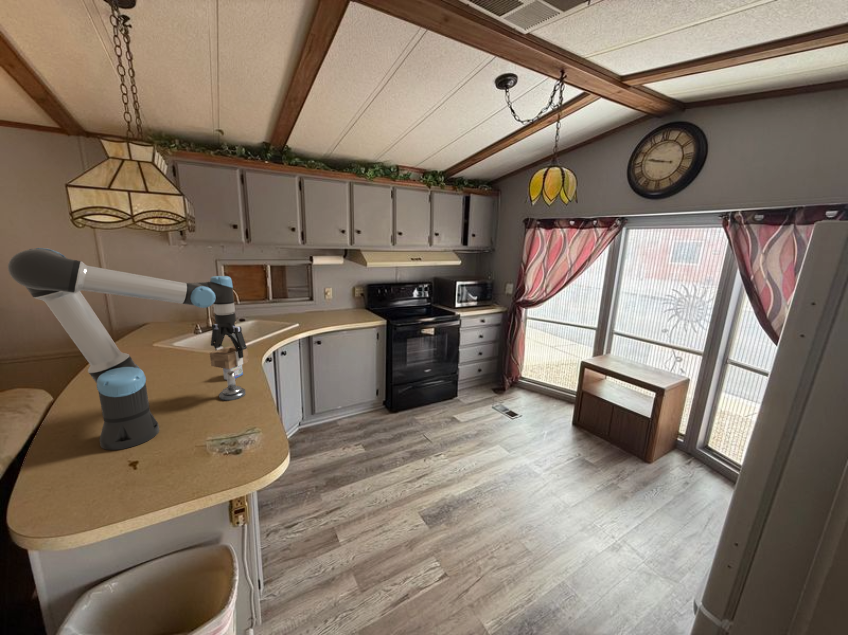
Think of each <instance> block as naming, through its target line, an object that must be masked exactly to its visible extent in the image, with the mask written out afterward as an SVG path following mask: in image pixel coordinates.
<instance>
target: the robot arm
mask: <svg viewBox="0 0 848 635" xmlns="http://www.w3.org/2000/svg"><path fill="white" fill-rule="evenodd" d="M7 270H8V273H9V275H10V277H11V278H12V279H13V280H14V281H15V282H16V283H17V284H19V285H21V286H23V287H25V288H26V290H27V291H28V292H29V293H30V295H31V296H32V298H33V299H35V300H40V301H43V302H44V303H45V304H46V306H47V307H48V308H49V310H50V311H51V312H52V314H53V315H54V317H55V318H56V319H57V321H58V322H59V323H60V325H61V326H62V328H63V329H64V331H65V332H66V334H68V336H69V337H70V339H71V340H72V342H73V343H74V344H75V346H76V348H77V349H78V350H79V351H80V353H81V354H82V356H83V357H84V358H85V360H86V361H87V362H88V364H89V367H88V369H87V373H89V375H90V376H91V378H92V379H93V380H94V382H95V383H96V389H97V391H98V397H99V403H100V407H101V412H102V417H103V418H102V420H103V426H102V429H101V432H100V436H99V443H100V447H101V449H103V450H106V451H107V450H109V451H119V450H124V449H130V448H132V447H136V446H138V445H141V444H144V443H146V442H149V441H150V440H152V439H153V438H154V437H156V436H157V435H158V434H159V433H160V426H159V422H158V421H157V419H156V418H155V416H154V414H152V412H151V409H150V402H149V396H148V395H149V394H148V390H147V389H148V388H147V382H146V381H147V378H146V375H145V372H144V371H143V370H142V369H141V368H140V367H139V365H137V364H136V363H135V362H134V359H133V358H132V357H131V356H130V354H129V353H126V352H122V351H121V350H120V349H119V347H118V345H117V344H116V343H115V341H114V340H113V339H112V336H111V335H110V334H109V331H108V330H107V329H106V327H105V326H104V325H103V323H102V322H101V320H100V319H99V317H98V316H97V314H96V313H95V311H94V310H93V308H92V306H91V305H90V303H89V302H88V300H87V299H86V298H85V296H84V294H82V291H84V292H85V291H86V292H92V293H93V292H94V293H99V294H108V295H116V296H122V297H130V298H138V299H144V300H145V299H146V300H152V301H160V302H167V303H174V304H175V303H176V304H180V305H186V306H188V305H189V306H195V307H196V308H203V309H207V308H209V307H211V306H212V305H213V313H214V321H215V323H214V324H212V325H211V330H212V331H211V338H210V339H211V340H210V346H211V347H214V348H215V350H214V351H216V350H219V349H222V348H224V346H223V345H222V344H223V342H224V339H225V337H226V336H227V337H228V338H229V339H230V340H231V342H232V344H233V347H235V348H236V351H235V354H236V363H237V366H240V365H242V366H243V365H244V364H243V350H244V349H248V348H247V347H248V346H247V344H246V341H245V337H244V334H243V331H242V326H236V325H235V322H236V321H237V316H236V315H237V314H236V313H235V312H236V308H235V299H234V286H233V285H234V284H233V280H232V278H231V276H228V275H216V276H210V280H209V281H205V282H204V281H203V282H202V281H201V282H198V281H197V282H181V281H175V280H169V279H165V278H160V277H159V278H158V277H154V276H149V275H141V274H137V273H136V274H135V273H130V272H125V271H121V270H120V271H119V270H114V269H107V268H102V267H97V266H93V265H92V266H91V265H87V264H86V263H84V262H83V260H82V261H81V260H76V259H71V258H67V257H66V256H65V255H64V254H62V253H61V252H59V251H56V250H53V249H51V248H43V247H37V248H29V249H27V250H23V251H22V250H21V251H20V252H17V253H16V254H14V255H13V256H12V257H11V259H9V261H8V264H7Z"/></svg>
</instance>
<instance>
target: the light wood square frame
mask: <svg viewBox="0 0 848 635" xmlns="http://www.w3.org/2000/svg"><path fill="white" fill-rule="evenodd" d="M235 351H236V348H235V346H234V345H233V346H232V345H228V346H226V347H223V348H222V349H219V350H213V351H211V352H209V359H210V365H211V366H210V367H215V368H221V369H223V368H225V369H231V368H234V367H236V366H237V363H236V354H235ZM249 360H250V359H249V349H248V348H247V349H244V350H243V364H242V365H244V364H246V363H248V362H250V361H249Z"/></svg>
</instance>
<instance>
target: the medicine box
mask: <svg viewBox="0 0 848 635" xmlns="http://www.w3.org/2000/svg"><path fill="white" fill-rule="evenodd" d="M222 371H223V372H222V374H223V380H225V381H227V373H226V372H228V371H234V373H235V380H236V379H237V378H240V377H241V376H243V375H244V371H243V364H242V365H240V366H236V367H234V368H231V369H225V368H222Z"/></svg>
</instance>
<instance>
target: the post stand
mask: <svg viewBox="0 0 848 635" xmlns="http://www.w3.org/2000/svg"><path fill="white" fill-rule="evenodd" d="M226 373H227V380H226V382H227V387H224V388H223V389H222V390H221V391H220V392H219V394H218V397H219V398H218V399H220V400H221V401H227V402H229V401H235V400H240V399H241V398H243V397H245V395H246V389H245V388H243V387H241V386H240V385H236V379H235V373H234V371H228V372H226Z"/></svg>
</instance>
